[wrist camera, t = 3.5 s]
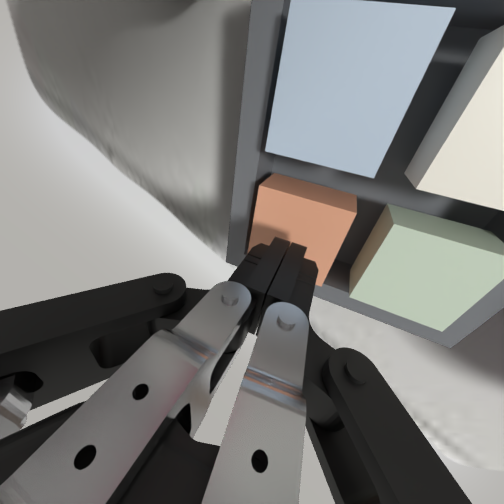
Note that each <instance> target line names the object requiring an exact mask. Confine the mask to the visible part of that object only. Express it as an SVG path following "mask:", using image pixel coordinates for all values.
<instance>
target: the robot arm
mask: <svg viewBox="0 0 504 504" xmlns="http://www.w3.org/2000/svg"><path fill="white" fill-rule="evenodd" d="M290 242H291V241H288V240H285V239H282V238H279V237H276V236H275V237H274V239H273V241H272V242H271V244H270V245H269V246H268V245H266V244H263V243H260V244H258V245H256V246H254V247H252V248H251V250H250V251H249V253H248V254H247V255H246V257H245V258H244V260H243V261H242V262H241V263H240V265H239V266H238V267H237V269H236V270H235V271H234V273H233V274H232V276H231V277H230V278H229V280H228V281H225V282H221V283H218V284H217V285H215V286H214V287H213V288H212V289H210V290H202V289H193V288H186V283H185V281H184V279H183V278H182V277H180V276H179V275H176V274H173V273H161V274H156V275H152V276H147V277H143V278H139V279H135V280H130V281H126V282H122V283H118V284H113V285H109V286H105V287H100V288H96V289H92V290H88V291H83V292H79V293H75V294H71V295H66V296H62V297H58V298H54V299H49V300H45V301H40V302H36V303H32V304H28V305H23V306H19V307H15V308H11V309H6V310H2V311H0V504H298V502H299V491H300V480H301V468H302V457H303V445H304V434H305V426H306V428H307V431H308V433H309V436H310V439H311V441H312V444H313V447H314V449H315V451H316V454H317V457H318V460H319V462H320V465H321V467H322V470H323V473H324V475H325V478H326V481H327V483H328V486H329V488H330V491H331V494H332V496H333V499H334V501H335V504H472V503H471V502H470V500H469V499H468V497H467V496H466V495H465V494H464V492H463V490H462V489H461V487H460V486H459V485H458V483H457V482H456V480H455V479H454V478H453V476H452V475H451V473H450V472H449V470H448V469H447V468H446V466H445V465H444V463H443V462H442V460H441V459H440V458H439V456H438V455H437V453H436V452H435V450H434V449H433V448H432V446H431V445H430V443H429V442H428V440H427V439H426V438H425V436H424V435H423V433H422V432H421V431H420V429H419V428H418V426H417V425H416V423H415V422H414V421H413V419H412V418H411V416H410V415H409V413H408V412H407V411H406V409H405V408H404V406H403V405H402V404H401V402H400V401H399V399H398V398H397V396H396V395H395V394H394V392H393V391H392V389H391V388H390V386H389V385H388V384H387V382H386V381H385V379H384V378H383V376H382V375H381V374H380V372H379V371H378V369H377V368H376V367H375V365H374V364H373V363H372V362H371V361H370V360H369V359H368V358H367V357H366V356H365V355H363V354H362V353H360V352H358V351H356V350H354V349H351V348H339V349H336V350H335V349H334V348H332V347H331V346H330V345H328V344H327V343H326V342H324V341H323V340H322V339H321V338H320V337H319V336H318V335H317V334H316V333H315V332H314V331H313V329H312V327H311V325H310V322H309V311H310V307H311V302H312V298H313V293H314V289H315V284H316V279H317V275H318V271H319V270H318V267H317V265H316V262H315V261H312V260H309V259H306V258H304V256H305V253H306V250H307V247H306V246H303V245H300V244H297V243H294V242H291V244H290ZM289 246H290V247H289ZM257 327H258V329H257ZM256 329H257V333H256V336H257V339H256V343H255V345H254V348H253V352H252V355H251V358H250V361H249V364H248V367H247V370H246V372H245V374H244V377H243V380H242V383H241V386H240V389H239V392H238V395H237V398H236V401H235V404H234V407H233V410H232V413H231V416H230V419H229V422H228V425H227V428H226V431H225V434H224V437H223V440H222V443H221V446H217V445H212V444H206V443H201V442H197V441H195V440H193V437H194V435H195V433H196V431H197V429H198V428H199V426H200V424H201V422H202V420H203V419H204V417H205V414H206V412H207V409H208V407H209V405H210V402H211V400H212V398H213V396H214V394H215V392H216V391H217V389H218V387H219V385H220V384H221V382H222V380H223V379H224V376H225V375H226V373H227V372H228V370H229V368H230V366H231V365H232V363H233V361H234V359H235V358H236V356H237V354H238V352H239V351H240V349H241V345H242V344H243V342H244V340H245V338H246V336H247V333H248V332H249V333H252V334H255V332H256ZM108 378H109V379H108ZM106 379H108V380H107V381H106V382H105V383H104V384H103V385H102V386H101V387H100V388H99V389H98V390H97V391H96V392H95V393H94V394H93V395H92V396H91V397H90V398H89V399H88V400H87V401H85V402H81V403H78V404H76V405H74V406H72V407H69V408H67V409H65V410H63V411H61V412H59V413H56V414H54V415H52V416H50V417H48V418H45V419H43V420H41V421H39V422H37V423H35V424H32V425H30V426H28V427H26V428H24V429H22V430H20V429H21V428H22V427H23V426H24V424H25V423H26V420H27V413H28V412H29V410H32V409H35V408H37V407H39V406H42V405H44V404H47V403H49V402H52V401H54V400H57V399H59V398H62V397H64V396H66V395H69V394H71V393H74V392H76V391H78V390H81V389H84V388H86V387H88V386H91V385H93V384H96V383H98V382H101V381H103V380H106Z"/></svg>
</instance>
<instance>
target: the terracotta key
mask: <svg viewBox="0 0 504 504" xmlns="http://www.w3.org/2000/svg"><path fill="white" fill-rule="evenodd" d="M356 214H357V195H354V194H351V193H347V192H343V191H340V190H336V189H332V188H329V187H325V186H321V185H317V184H314V183H310V182H306V181H303V180H299V179H295V178H292V177H288V176H284V175H280V174H277V173H274V174H273V175H271V176H270V177H269V178H268V179H266V180H265V181H264V182H263V183H261V184H260V185H259V189H258V195H257V201H256V207H255V213H254V219H253V224H252V230H251V236H250V242H249V248H248V253H249V251H250V250H251V248H252V247H254V246H256V245H258V244H260V243H263V244H266V245H268V246H269V245H270V244H271V242H272V241H273V239H274V237H275V236H276V237H279V238H282V239H285V240H288V241H291V242H294V243H297V244H300V245H303V246H306V247H307V250H306V253H305V256H304V258H306V259H309V260H312V261H315V262H316V265H317V267H318V270H319V271H318V275H317V279H316V284H315V285H318V286H322V284H323V282H324V280H325V278H326V276H327V274H328V272H329V270H330V268H331V266H332V264H333V262H334V260H335V257H336V255H337V253H338V251H339V249H340V247H341V245H342V243H343V241H344V239H345V237H346V235H347V233H348V231H349V229H350V226H351V224H352V222H353V220H354V218H355V216H356ZM291 242H290V244H291ZM289 247H290V246H289Z"/></svg>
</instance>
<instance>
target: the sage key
mask: <svg viewBox="0 0 504 504" xmlns="http://www.w3.org/2000/svg"><path fill="white" fill-rule="evenodd" d="M503 279H504V243H503V242H502V241H501V240H500V239H499V238H498V237H497V236H496V235H495V234H493V233H492V232H491V231H488V230H484V229H480V228H477V227H473V226H469V225H465V224H462V223H458V222H454V221H451V220H447V219H443V218H440V217H436V216H432V215H428V214H425V213H421V212H417V211H414V210H410V209H406V208H403V207H399V206H395V205H391V204H388V203H387V205H386V207H385V208H384V210H383V212H382V214H381V215H380V217H379V219H378V221H377V223H376V224H375V226H374V228H373V230H372V232H371V233H370V235H369V237H368V239H367V240H366V242H365V244H364V246H363V248H362V249H361V251H360V253H359V255H358V257H357V258H356V260H355V262H354V264H353V265H352V267H351V269H350V283H349V297H350V298H353V299H356V300H358V301H361V302H364V303H366V304H369V305H372V306H374V307H377V308H380V309H382V310H385V311H388V312H390V313H393V314H396V315H399V316H401V317H404V318H407V319H409V320H412V321H415V322H417V323H420V324H423V325H425V326H428V327H431V328H433V329H436V330H439V331H441V332H443V331H444V330H445V329H446V328H447V327H448V326H450V325H451V324H452V323H453V322H454V321H455V320H457V319H458V318H459V317H460V316H461V315H462V314H464V313H465V312H466V311H467V310H468V309H469V308H471V307H472V306H473V305H474V304H475V303H476V302H478V301H479V300H480V299H481V298H482V297H483V296H485V295H486V294H487V293H488V292H489V291H490V290H492V289H493V288H494V287H495V286H496V285H497V284H499V283H500V282H501V281H502V280H503Z"/></svg>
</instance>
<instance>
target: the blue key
mask: <svg viewBox="0 0 504 504" xmlns="http://www.w3.org/2000/svg"><path fill="white" fill-rule="evenodd" d="M455 10H456V8H451V7H438V6H426V5H413V4H401V3H388V2H376V1H363V0H291V2H290V8H289V14H288V20H287V25H286V31H285V37H284V43H283V49H282V55H281V61H280V66H279V72H278V78H277V84H276V90H275V96H274V102H273V107H272V113H271V119H270V125H269V131H268V137H267V142H266V148H265V151H266V152H270V153H274V154H278V155H282V156H286V157H290V158H294V159H298V160H302V161H306V162H310V163H314V164H318V165H322V166H326V167H330V168H334V169H338V170H342V171H346V172H350V173H354V174H358V175H362V176H366V177H370V178H374V177H375V175H376V173H377V171H378V169H379V167H380V165H381V162H382V160H383V158H384V156H385V154H386V152H387V150H388V148H389V146H390V144H391V142H392V140H393V138H394V136H395V134H396V131H397V129H398V127H399V125H400V123H401V121H402V119H403V117H404V115H405V113H406V111H407V109H408V107H409V105H410V103H411V100H412V98H413V96H414V94H415V92H416V90H417V88H418V86H419V84H420V82H421V80H422V78H423V76H424V74H425V72H426V69H427V67H428V65H429V63H430V61H431V59H432V57H433V55H434V53H435V51H436V49H437V47H438V45H439V43H440V41H441V39H442V36H443V34H444V32H445V30H446V28H447V26H448V24H449V22H450V20H451V18H452V16H453V14H454V12H455Z"/></svg>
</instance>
